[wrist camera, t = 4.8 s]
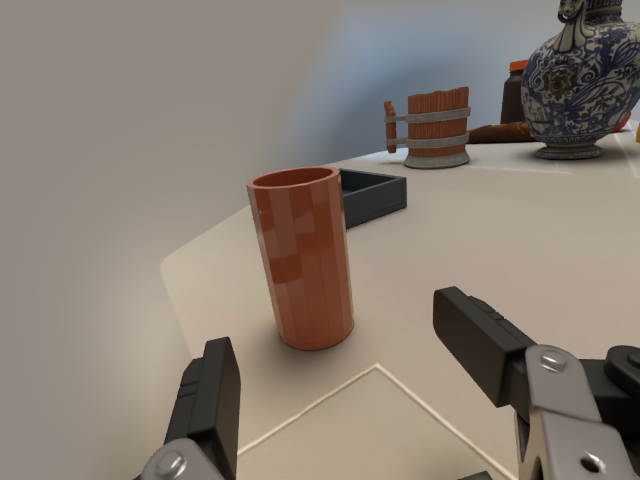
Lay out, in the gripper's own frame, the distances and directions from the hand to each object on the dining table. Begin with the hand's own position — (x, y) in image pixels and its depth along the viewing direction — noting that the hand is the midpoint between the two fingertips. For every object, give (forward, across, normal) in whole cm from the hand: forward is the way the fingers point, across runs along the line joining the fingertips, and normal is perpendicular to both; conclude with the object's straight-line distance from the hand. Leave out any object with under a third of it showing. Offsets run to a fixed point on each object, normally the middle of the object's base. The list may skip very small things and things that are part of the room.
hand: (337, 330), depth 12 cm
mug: (+58, -35, +7) cm, 68 cm away
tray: (+35, -7, +7) cm, 36 cm away
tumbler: (+9, 0, +7) cm, 11 cm away
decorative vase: (+44, -58, +7) cm, 73 cm away
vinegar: (+77, -75, +7) cm, 108 cm away
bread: (+67, -65, +7) cm, 94 cm away
